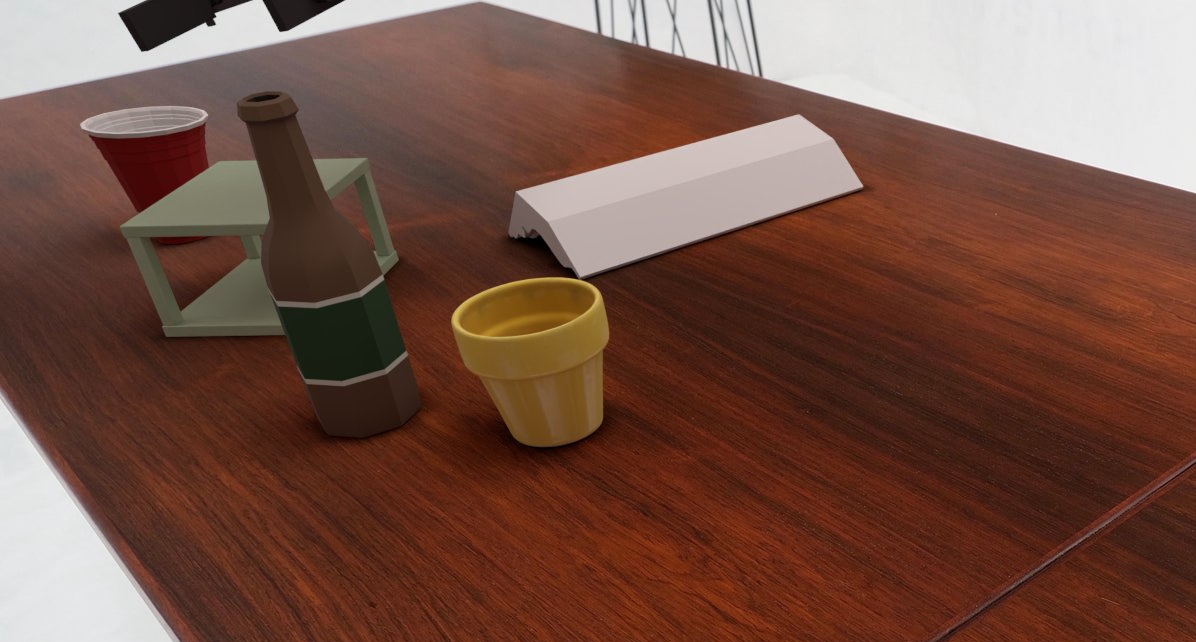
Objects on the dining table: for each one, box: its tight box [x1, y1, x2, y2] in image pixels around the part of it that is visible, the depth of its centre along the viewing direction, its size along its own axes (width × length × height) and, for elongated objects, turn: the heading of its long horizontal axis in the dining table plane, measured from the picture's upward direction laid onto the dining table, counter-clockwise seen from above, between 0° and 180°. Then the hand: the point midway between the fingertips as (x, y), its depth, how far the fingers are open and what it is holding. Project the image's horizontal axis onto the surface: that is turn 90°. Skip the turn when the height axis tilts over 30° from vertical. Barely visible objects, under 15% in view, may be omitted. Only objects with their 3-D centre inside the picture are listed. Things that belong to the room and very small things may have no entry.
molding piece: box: [507, 113, 864, 281], centre depth 131 cm, size 32×12×10 cm
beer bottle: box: [236, 90, 422, 439], centre depth 91 cm, size 8×8×24 cm
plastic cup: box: [79, 105, 210, 245], centre depth 127 cm, size 11×11×12 cm
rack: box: [119, 157, 400, 338], centre depth 114 cm, size 14×16×10 cm
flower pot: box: [450, 277, 610, 448], centre depth 93 cm, size 10×10×10 cm
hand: (200, 22), depth 87 cm, fingers open, 13 cm apart
